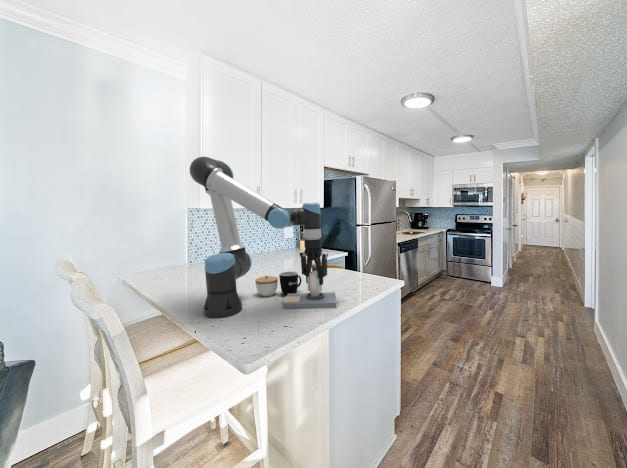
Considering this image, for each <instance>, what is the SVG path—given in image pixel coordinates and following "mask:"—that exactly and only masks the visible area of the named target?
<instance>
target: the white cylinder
mask: <svg viewBox="0 0 627 468" xmlns="http://www.w3.org/2000/svg"><path fill="white" fill-rule="evenodd" d="M317 278H318V273H317V271H313V272H312V271H311V272H309V279H310V291H309V293H310V297H319V296H320V293H317Z"/></svg>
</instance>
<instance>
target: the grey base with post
mask: <svg viewBox="0 0 627 468" xmlns="http://www.w3.org/2000/svg"><path fill="white" fill-rule="evenodd" d="M313 271H317V268H312V267H311V272H313ZM336 297H337V296H336V292H335V291H333V292H331V291H330V292H320V296H319V297H310V292H296V293H291V294H287V296H284V298H283V300H282V307H283V309H285V310H286V309H288V310H290V309H326V308H327V309H328V308H329V309H330V308H332V309H333V308H336V307H337V298H336Z"/></svg>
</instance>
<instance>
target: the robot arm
mask: <svg viewBox="0 0 627 468" xmlns="http://www.w3.org/2000/svg"><path fill="white" fill-rule="evenodd" d="M189 174H190V177H191V178H192V180H193V181H194V182H196V183H197V184H199V185H200V186H202V187H204V190H205V193H206V194H207V195H208V196H209V197H210V201H211V205H212V211H213V215H214V219H215V223H216V224H215V225H216V228H217V233H218V238H219V242H220V249H219V251H218V253H216V254H212V255H210V256H208V257H206V259H204V273H205V284H206V299H205V301H204V306H203V315H204V316H205V317H207V318H211V319H212V318H214V319H216V318H218V319H219V318H226V317H230V316H234V315H236V314H238V313H240V312H241V311H242V310H243V304H242V300H241V298H240V295H239V293H238V291H237V290H238V289H237V280H238V279H240V278H241V277H243V276H246V274H247V273H248V272H249V271H250V269H252V268H251V267H252V263H253V261H252V257H251V256H250V254H249V252H247V250H246V247H245V245H243V244H242V243H241V239H240V234H239V229H238V225H237V219H236V216H235V211H234V207H233V202H234V203H236V204H238V205H240V206H241V207H243V208H245V209H246V210H247V211H250V212H252V213H253V214H255V215H257V216H258V217H260V218H261V219H263V220H265V221H267V222H268V223H269V225H270V226H271V227H272V228H274V229H279V230H280V229H285V228H286V227H290V226H292V227H293V226H303V238H304V240H303V242H304V243H303V244H304V250H303V251H302V252H299V256H300V257H299V258H300V264H301V275H302V276H303V275H304V276H305V283H306V284H307V292H310V279H309V272H312V264H313V262H314V264H316V268H317V273H318V278H317V293H320V292H321V293H323V285H324V278H325V277H326V276H328V268H327V264H328V257H329V253H326V252H323V249H322V246H323V242H322V217H321V216H322V215H321V214H322V212H321V205H320V203H318V202H305V203H303V204H302V207H299V208H298V207H295V208H293V207H291V208H288V207H287V208H284V207H282V206H280V205H279V204H276V202H273V201H271V200H270V199H268V198H267V197H265V196H263V195H261V194H260V193H258V192H257V191H255V190H253V189H251V188H249V187H248V186H246V185H244V184H243V183H241V182H240V181H238V180H236V179H235V178H234V171H233V170H232V168H231V167H230V165H228V164H227V163H225V162H224V161H222V160H218V159H214V158H211V157H208V156H200V157H199V156H198V157H197V158H194V159H193V161H192V162H191V163H190V166H189ZM321 264H322V266H321Z"/></svg>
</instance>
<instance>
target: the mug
mask: <svg viewBox="0 0 627 468" xmlns="http://www.w3.org/2000/svg"><path fill="white" fill-rule="evenodd" d="M278 277H279V278H278V279H279V285H280V289H281V293H282V295H284V297H287V294H291V293H298V288H299V287H300V286H301V284H302V277H301V276H300V275H299V273H298V271H283V272H280V273H279V275H278Z"/></svg>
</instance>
